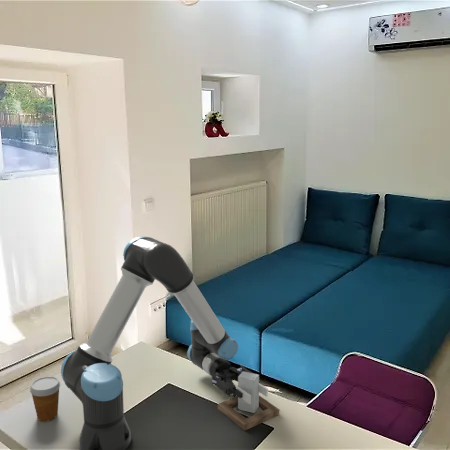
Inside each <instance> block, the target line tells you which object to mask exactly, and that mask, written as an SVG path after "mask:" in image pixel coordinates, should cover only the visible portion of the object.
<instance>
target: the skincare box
mask: <svg viewBox="0 0 450 450" xmlns="http://www.w3.org/2000/svg"><path fill="white" fill-rule="evenodd" d="M253 373H254V372H252V373H249V372H244V371H243V372H242V373H241V374H240V375H239V376H238V382H237V387H240V388H241V389H243V390H244V391H245V392H247V393H248V394H250V395H251V403H250V404H249V403H247V402H246V401H245V400H243V399H242V398H239V397H238V406H237V409H238V410H241V411H245V412H249V413H251V414H255V413H256V412H257V410H259V409H258V408H260V407H259V396H260V392H259V377H260V374H257V373H254V374H253Z"/></svg>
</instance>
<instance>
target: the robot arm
mask: <svg viewBox="0 0 450 450" xmlns="http://www.w3.org/2000/svg"><path fill="white" fill-rule="evenodd" d="M125 245H126V246H125V247H124V249H123V255H122V256H123V261H124V262H123V263H122V266H121V267H120V271H121V274H122V275H121V277H120V279H119V281H118V283H117V284H116V286H115V288H114V290H113V292H112V294H111V296H110V298H109V299H108V301H107V304H106V306H104V309H103V310H102V312H101V314H100V316H99V317H98V320H97V322H96V323H95V325H94V328H93V329H92V331H91V332H90V335H89V336H88V338H87V341H85V342H83V343H80V344H79V345H78V346H77V349H75V350H73V352H70V353H69V354H68V355H66V357H65V358H64V360H63V362H62V364H61V369H60V374H61V375H60V376H61V379H62V380H63V382H64V385H65V386H66V387H67V388H68V389H69V390H70V391H71V392H72V393H73V394H74V395H75V396H76V397H77V399H79V401H80V402H81V404H82V410H83V425H82V428H81V432H80V435H79V438H78V442H79V443H78V444H79V450H127V448H128V447H129V446H130V444H131V441H132V436H131V435H132V434H131V429H130V427H129V424H128V422H127V420H126V418H125V412H124V411H125V410H124V380H123V375H122V372H121V370H120V369H119V368H118V367H117V366H116V365H114V364H112V362H113V356H112V352H113V350H114V348H115V347H116V345H117V343H118V341H119V338H120V337H121V335H122V334H123V331H124V330H125V328H126V326H127V323H128V322H129V320H130V318H131V316H132V314H133V312H134V310H135V308H136V306H137V305H138V303H139V301H140V299H141V297H142V295H143V293H144V291H145V289H146V288H147V287H149V286H151V285H153V284H154V282H155V280H156V281H157V282H159V283H160V284H161V285H162V286H163V287H164V288H165V289H166V290H167V292H168V293H170V294H173V295H174V297H175V299H177V301H178V302H179V304H180V305H181V307H182V308H183V309H184V311H185V313H186V314H187V316H189V318H190V328H189V330H190V338H191V340H190V341H191V344H190V345H189V347H188V349H187V352H186V355H187V358H188V360H189V361H190V362H191V363H192V364H193V365H195V366H197V367H198V368H199V369H201V370H202V371H204V372H205V373H206V374H208V375H209V376H211V384H212V385H214V386H216V387H217V388H218V389H219V390H221V391H222V393H224V394H225V395H226V396H228V397H229V396H231V395H232V398H233V397H236V396H237V397H239V398H242V399H243V400H245V401H246V402H247V403H249V404H250V403H251V395H250V394H248V393H247V392H245V391H244V390H243V389H241V388H240V387H238V386H237V387H236V385H235V383H234V382H233V381H235V382H237V383H238V376H239V375H240V374H241V373H242V372H243V371H244V372H249V373H253V374H255V373H254V372H252V371H251V370H249V369H247V368H246V367H245V366H244V365H241V366H240V367H239V368H236V367H233V366H232V364H231V363H230V361H228V360H232V359H233V358H234V357H235V356H236V355H237V354H238V352H239V343H238V341H237V340H236V339H235V338H234V337H231V336H230V335H229V334H228V332H227V331H226V330H225V328H224V327H223V325H222V324H221V321H220V320H219V319H218V317H217V315H216V313H214V311H213V309H212V308H211V306H210V305H209V303H208V301H207V300H206V298H205V297H204V295H203V293H202V292H201V290H200V289H199V287H198V286H197V284H196V283H195V281H194V279H195V278H194V275H195V274H194V273H193V272H192V271H191V269H190V268H189V266H188V264H187V262H186V261H185V260H184V258H183V257H182V255H181V254H180V253H179V252H178V250H176V249H175V248H174V247H173V246H172V245H170V244H169V243H164V242H162V241H160V240H158V239H155V238H153V237H150V236H143V235H141V236H137V237H134V238H132V239H131V240H130V241H129V242H127V244H125ZM268 392H269V389H268V388H267V387H266V386H265V385H264V384H263V383H262V382H260V376H259V394H262V395H263V396H264V397H268V394H269V393H268Z"/></svg>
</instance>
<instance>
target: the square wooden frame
mask: <svg viewBox="0 0 450 450" xmlns="http://www.w3.org/2000/svg"><path fill="white" fill-rule="evenodd" d="M234 408H238V397H237V396H236V397H233V396H232V397H230V398H229V399H225V400H224V401H221V402H219V403H217V410H218V411H219V412H220V413H222V414H223V415H225V416H226V417H227V418H228V419H229V420H231V421H232V422H233V423H234V424H236V425H237V426H238V427H239V428H240V429H242V430H243V431H247V430H249V429H252V428H253V427H256V426H258V425H261V424H263V423H265V422H267V421H268V420H271V419H273V418H275V417H278V416H279V415H280V409H279V408H278V407H277V406H275V405H273V404H272V403H271V402H269V401H268V400H266V399H265V398H264V397H262V396H261V395H259V407H258V408H259V409H260V410H261V409H262V411H259V412H257V413H256V414H255V413H254V414H253V415H251V416H249V417H245V416H243V415H242V414H241V413H239V412H238V411H237V410H236V409H234Z"/></svg>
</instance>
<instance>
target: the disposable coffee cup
mask: <svg viewBox="0 0 450 450" xmlns="http://www.w3.org/2000/svg"><path fill="white" fill-rule="evenodd" d="M61 385H62V384H61V382H60V380H59V378H58V377H56V376H52V375H51V376H50V375H49V376H48V375H47V376H42V377H41V376H40V377H39V378H37V379H34V380H33V381H32V382H31V384H30V387H29V392H30V394H31V397H32V401H33V404H34V409H35V413H36V418H37V420H38V421H40V422H42V423H43V422H51V421H53V420H54V419H56V418H57V417H58V415H59V412H58V411H59V400H60V399H59V397H60V388H61Z"/></svg>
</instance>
